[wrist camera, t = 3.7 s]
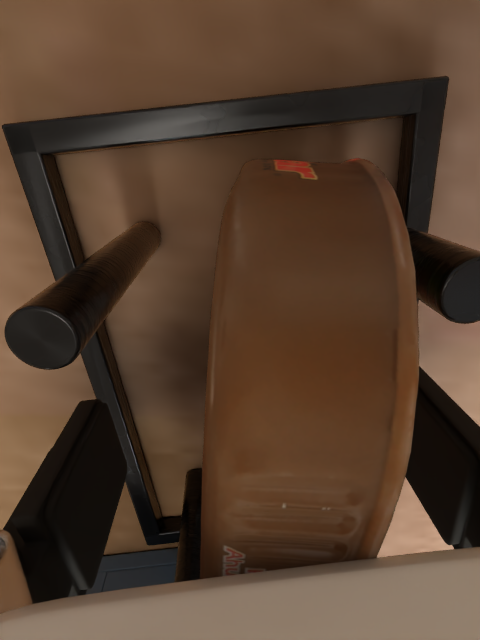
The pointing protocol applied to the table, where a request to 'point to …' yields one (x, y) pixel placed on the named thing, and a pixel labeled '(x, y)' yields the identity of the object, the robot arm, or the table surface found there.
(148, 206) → the table surface
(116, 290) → the rack
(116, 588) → the open box
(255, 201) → the tin
